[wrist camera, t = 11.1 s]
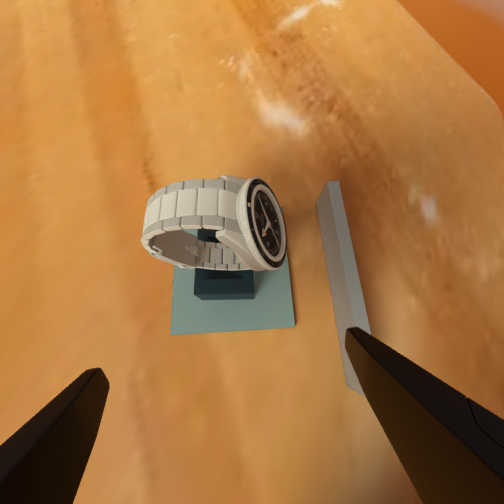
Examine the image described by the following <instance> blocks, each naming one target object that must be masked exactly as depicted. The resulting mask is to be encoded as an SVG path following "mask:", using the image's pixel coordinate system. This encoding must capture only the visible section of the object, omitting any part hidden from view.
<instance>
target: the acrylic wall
mask: <svg viewBox="0 0 504 504" xmlns="http://www.w3.org/2000/svg"><path fill="white" fill-rule="evenodd" d="M316 205H317V211H318V217H319V223H320V229H321V235H322V241H323V247H324V253H325V259H326V265H327V271H328V277H329V283H330V289H331V295H332V301H333V307H334V313H335V319H336V325H337V331H338V337H339V342H340V348H341V354H342V360H343V366H344V372H345V378H346V384H347V387H349V388H351V389H352V390H354V391H356V392H358V393H359V394H361V395H363V396H365V394H364V392H363V390H362V388H361V385H360V383H359V381H358V378H357V376H356V373H355V371H354V369H353V366H352V364H351V361H350V359H349V357H348V354H347V352H346V349H345V334H346V329H347V328H350V327H359V328H361V329H362V330H364V331H365V332H367V333H369V334H370V335H371V331H370V326H369V322H368V317H367V312H366V307H365V303H364V298H363V293H362V289H361V284H360V279H359V274H358V270H357V265H356V260H355V255H354V251H353V246H352V241H351V236H350V232H349V227H348V222H347V217H346V213H345V208H344V203H343V198H342V194H341V189H340V184H339V181H327V182H326V184H325V186H324V188H323V190H322V192H321V194H320V196H319V198H318V200H317V202H316ZM365 397H366V396H365Z"/></svg>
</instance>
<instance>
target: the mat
mask: <svg viewBox="0 0 504 504" xmlns="http://www.w3.org/2000/svg"><path fill="white" fill-rule="evenodd" d="M280 209H281V212H282V207H280ZM282 215H283V214H282ZM202 220H203V219H202ZM182 230H184V231H186V232H188V233H190V234H193V235H195V236H197V230H198V229H184V228H182ZM194 278H195V268H194V269H189V268H180V267H179V266H177V265H174V275H173V295H172V315H171V334H170V335H181V334H197V333H213V332H229V331H245V330H262V329H278V328H294V327H295V320H294V311H293V303H292V294H291V285H290V276H289V267H288V258H287V251H286V258H285V261H284V263H283V265H282V267H281V268H280V269H278V270H272V271H271V270H263V271H254V280H255V284H254V299H243V300H201V299H200V298H198V297H196V296H195V295H193V294H194Z"/></svg>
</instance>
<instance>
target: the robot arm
mask: <svg viewBox="0 0 504 504" xmlns="http://www.w3.org/2000/svg"><path fill="white" fill-rule="evenodd" d="M345 349H346V352H347V354H348V357H349V359H350V361H351V364H352V366H353V369H354V371H355V373H356V376H357V378H358V381H359V383H360V385H361V388H362V390H363V392H364V394H365V396H366V398H367V400H368V402H369V404H370V405H371V407H372V409H373V411H374V413H375V415H376V417H377V419H378V420H379V422H380V424H381V426H382V428H383V430H384V432H385V433H386V435H387V437H388V439H389V441H390V443H391V445H392V446H393V448H394V450H395V452H396V454H397V456H398V458H399V460H400V461H401V463H402V465H403V467H404V469H405V471H406V473H407V474H408V476H409V478H410V480H411V482H412V484H413V486H414V487H415V489H416V491H417V493H418V495H419V497H420V499H421V501H422V502H423V504H504V420H503V419H502V418H500V417H498V416H497V415H495V414H494V413H492V412H490V411H489V410H487V409H485V408H484V407H482V406H481V405H479V404H478V403H476V402H475V401H473V400H471V399H470V398H466V396H465V395H463V394H462V393H460V392H459V391H457V390H456V389H454V388H453V387H451V386H449V385H448V384H446V383H445V382H443V381H442V380H440V379H439V378H437V377H435V376H434V375H432V374H431V373H429V372H428V371H426V370H425V369H423V368H421V367H420V366H418V365H417V364H415V363H414V362H412V361H411V360H409V359H407V358H406V357H404V356H403V355H401V354H400V353H398V352H397V351H395V350H393V349H392V348H390V347H389V346H387V345H386V344H384V343H383V342H381V341H379V340H378V339H376V338H375V337H373V336H372V335H370V334H369V333H367V332H365V331H364V330H362V329H361V328H359V327H350V328H347V329H346V334H345ZM108 392H109V381H108V379H107V378H106V376H105V374H104V372H103V370H102V369H101V368H92V369H88V370H86V371H85V372H83V373H82V374H81V375H80V376H79V377H78V378H77V379H75V380H74V381H73V382H72V383H71V384H70V385H69V386H68V387H66V388H65V389H64V390H63V391H62V392H61V393H60V394H58V395H57V396H56V397H55V398H54V399H53V400H52V401H50V402H49V403H48V404H47V405H46V406H45V407H44V408H43V409H41V410H40V411H39V412H38V413H37V414H36V415H35V416H33V417H32V418H31V419H30V420H29V421H28V422H27V423H25V424H24V425H23V426H22V427H21V428H20V429H19V430H18V431H16V432H15V433H14V434H13V435H12V436H11V437H10V438H8V439H7V440H6V441H5V442H4V443H3V444H2V445H0V504H73V501H74V499H75V496H76V493H77V490H78V488H79V485H80V482H81V479H82V476H83V474H84V471H85V468H86V465H87V463H88V460H89V457H90V454H91V451H92V449H93V446H94V443H95V440H96V437H97V433H98V430H99V426H100V422H101V419H102V415H103V411H104V407H105V403H106V399H107V396H108Z"/></svg>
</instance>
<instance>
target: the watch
mask: <svg viewBox="0 0 504 504" xmlns="http://www.w3.org/2000/svg"><path fill="white" fill-rule="evenodd" d="M202 219H203V220H202ZM182 228H184V229H198V230H197V236H195V235H193V234H190V233H188V232H186V231H184V230H182ZM141 242H142V245H143V247H144V248H145V249H147V250H148V251H149V254H150V255H151V256H153V257H155V258H157V259H160V260H162V261H165V262H168V263H171V264H174V265H177V266H179V267H180V268H189V269H194V268H195V278H194V294H193V295H195V296H196V297H198V298H200V299H201V300H243V299H254V284H255V280H254V271H263V270H271V271H272V270H278V269H280V268H281V267H282V265H283V263H284V261H285V258H286V251H287V237H286V228H285V223H284V219H283V215H282V212H281V209H280V206H279V203H278V201H277V199H276V197H275V195H274V193H273V191H272V189H271V188H270V187H269V185H268V184H267V183H266V182H265V181H264V180H263V179H261V178H259V177H253V178H250V179H244V178H239V177H234V176H226V175H223V176H221V177H218V179H205V184H204V179H193V180H186V181H185V182H184V181H180V182H176V183H173V184H170V185H168V186H165V187H163V188H161V189H159V190H158V191H156V192H155V194H153V195H152V196H151V197H150V198H149V200H148V203H147V206H146V213H145V220H144V227H143V233H142V240H141Z"/></svg>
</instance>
